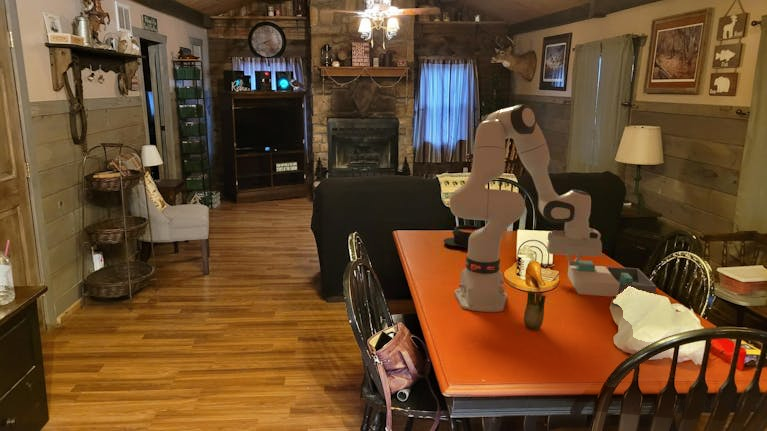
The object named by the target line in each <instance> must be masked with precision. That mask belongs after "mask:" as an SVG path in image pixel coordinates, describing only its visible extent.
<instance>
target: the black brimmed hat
mask: <svg viewBox="0 0 767 431" xmlns="http://www.w3.org/2000/svg"><path fill="white" fill-rule="evenodd" d="M483 227H484V226H483ZM483 227H482V226H479V225H472V224H471V225H470V224H462V225H457V226H455V227H454V229H453V230H452V235H453V237H446V238H444V239H443V243H444V244H446V245H447V246H453V247H460V248H462V249H467V250H468V242H469V236H470V235H471V234H472V233H473V232H474V231H476V230H478V229H481V228H483Z"/></svg>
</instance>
